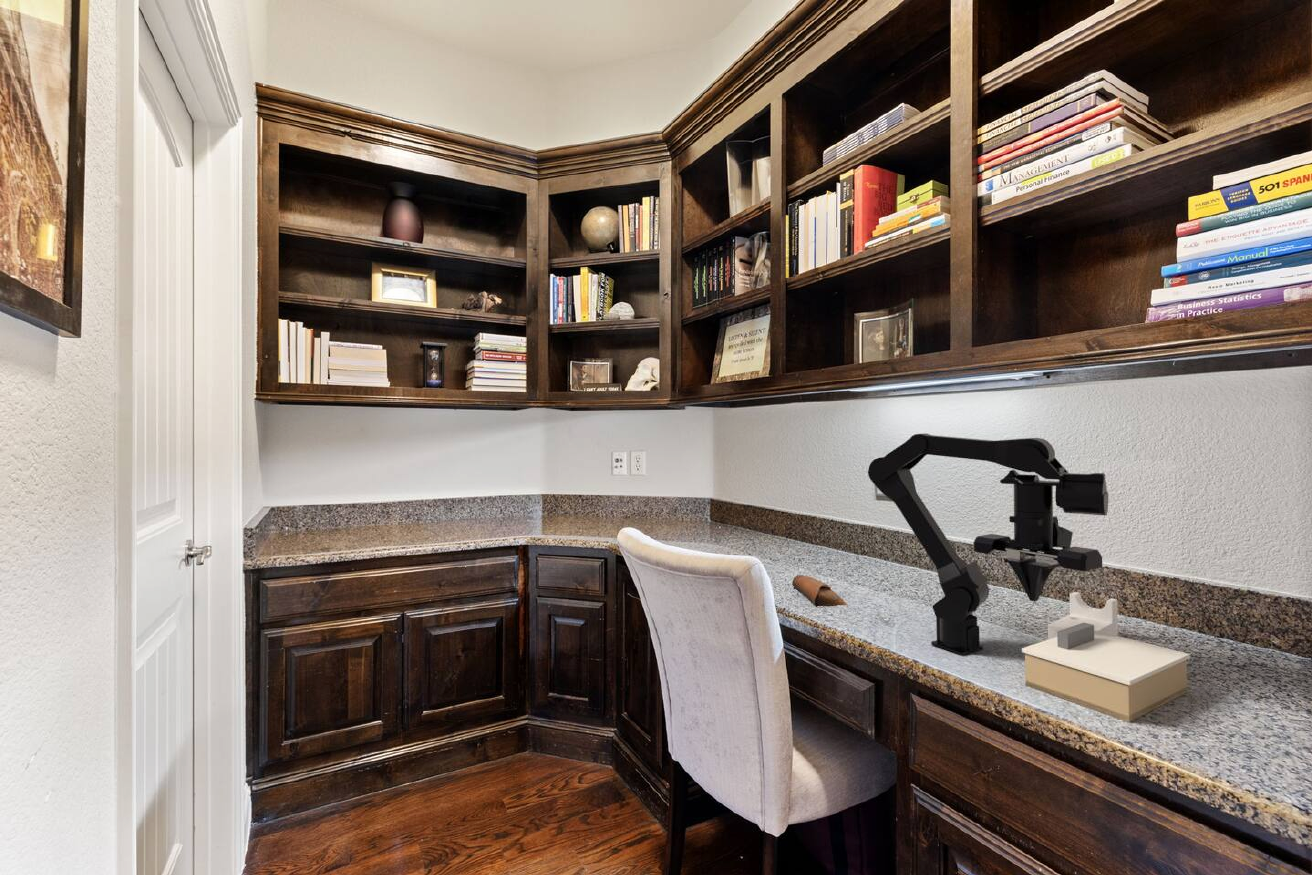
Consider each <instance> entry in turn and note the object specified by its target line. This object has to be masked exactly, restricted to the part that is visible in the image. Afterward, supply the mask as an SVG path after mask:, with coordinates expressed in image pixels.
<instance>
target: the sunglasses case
mask: <svg viewBox="0 0 1312 875" xmlns="http://www.w3.org/2000/svg"><path fill="white" fill-rule="evenodd" d="M791 585H792V587H793V586H794V587H793V588H795V589H796V590H797V591H799V592H800V593H801V594H803V595H804V597H806V598H807V599H808V600H809V601H810V602H811V603H812V604H813V605H814V606H816V607H817V606H828V607H838V606H837V605H843V606H847V604H848V603H847V602H845V600H844V599H843V598H842V597H841V596H840V595H839V594H838V593H836V592H835V591H834V590H833V589H832V587H831V586H830V585H829V584H827V583H825V582H823V581H821V580H818V579H817V578H813V577H811V576H807V575H803V574H797V575H795V576H794V577H793V580H792V584H791Z"/></svg>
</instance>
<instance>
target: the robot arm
mask: <svg viewBox="0 0 1312 875" xmlns="http://www.w3.org/2000/svg"><path fill="white" fill-rule="evenodd" d="M1055 453H1056V452H1055V449H1054V447H1053V445H1052V444H1051V443H1050V442H1049V441H1048V440H1047V439H1044V438H1040V437H1027V438H1025V437H1024V438H1012V439H1001V440H990V439H978V438H969V437H968V438H966V437H965V438H964V437H955V436H945V435H944V436H943V435H934V434H933V435H932V434H929V433H916V434H913V435H911V436H910V438H909V439H907V440H906V441H904V443H902V444H901V445H899V446H897V447H896V448H894V449H893V450H892V451H890V452H888V453H887V454H886V455H885V456H882V457H877V458H875V459H873V460H872V461H871V462H870V464H869V466H868V470H867V476H868V478H869V480H870V481H871V483H872V484H874V486H875V487H876V488H877V489H878V490H879V492H880V493H882V494H883V495H884V496H885V497H886V498H888V499H889V500H891V501H892V502H893V503H894V504H895V505H896V507H897V508H898V510H899V512H900V513H901V515H902V517H903V518H904V519H905V521H906V522H907V524H908V526H909V527H910V529H911V531H912V532H913V533H914V535H915V537H916V538H917V539H918V541H919V543H920V545H921V546H922V548H923V549H924V551H925V553H926V554H927V556H928V557H929V558H930V560H931V562H932V563H933V565H934V567H935V569H936V572H937V577H938V580H939V585H940V588H941V590H942V592H943V594H944V596H943V597H942V598H941V599H940V600H938V601H937V602H935V603H934V604H933V605H932V611H933V612H934V615H935V617H936V618H935V620H936V621H935V622H936V628H935V629H936V640H933V641H931V642H930V644H931V645H932V646H934V647H936V648H940V649H944V650H945V651H948V652H951V653H954V654H958V655H960V656H961V655H962V656H963V655H967V654H969V653H973V652H976V651H980V650H982V649H983V648H984V646H983V645H982V644H980V642H981V641H980V640H981V639H980V626H979V625H978V617H977V616H975V615H974V614H973V613H975V612H976V611H977V610H978V608H979V607H980V606H981V605H983V604H984V603H985V602H986V601H987V600H988V598H989V594H990V587H989V585H988V583H987V582H989V581H990V580H989V578H987V577H986V576H985V575H984V574H983V573H982V571H981V569H980V567H979V565H978V563H977V562H976V561H975V560H974V561H972V562H971V563H968V562H966V561H965V560H963V559H962V558H961V557H960V556H959V554H958V553H957V552H956V550H955V549H954V547H953V546H952V544H951V543H950V541H949V540H948V538H947V536H946V535H945V534H944V532H943V530H942V529H941V528H940V526H939V525H938V523H937V521H936V520H935V518H934V517H933V515H932V514H931V512H930V510H929V509H928V507H927V506H926V505H925V503H924V502H923V500H922V499H921V497H920V495H919V494H918V492H917V489H916V484H915V479H914V477H913V474H912V472H911V469H913V468H914V467H915V466H917V465H918V464H919V463H920V462H921V461H922V460H923V459H924V458H925V457H926V456H927V455H929V456H939V457H946V458H947V457H949V458H958V459H966V460H977V461H984V462H985V461H986V462H990V463H993V464H997V465H999V466H1003V467H1005V468H1009V469H1011V470H1009V471H1008V473H1007V475H1005V476H1004V477H1003V478H1001V479H1000V480H999V482H1000V484H1003V485H1005V484H1006V485H1013V515H1009V516H1008V517H1009V523H1013V539H1011V537H1010V535H1009V536H1008V535H1000V534H995V533H989V534H982V535H978V536H976V537H975V538H974V540H973V543H972V547H973V548H972V551H973V552H974V553H980V554H985V555H990V554H992V552H993V551H999V552H1001V551H1002V552H1006V558H1003V561H1004V563H1006V564H1007V563H1008V564H1009V566H1010V567H1011V569H1012V571H1013V572H1014V573H1015V575H1016V576H1017V578H1018V580H1019V582H1020V584H1021V586H1022V588H1023V589H1024V592H1025V595H1026V596H1027V597H1028V599H1029V601H1030V602H1031V601H1032V602H1038V601H1039V599H1040V597H1041V594H1042V592H1043V589H1044V587H1045V584H1046V583H1047V580H1048V579H1049V577H1050V575H1051V573H1052V572H1053V571H1054V570H1055V569H1057V568H1060V567H1061V568H1062V569H1067V570H1073V571H1077V572H1079V571H1080V572H1089V571H1091V570H1096V569H1100V568H1103V556H1102V555H1101V553H1100V551H1099V550H1098V549H1094V548H1088V547H1082V546H1081V547H1080V546H1071V545H1072V539H1073V534H1074V532H1073V531H1071V530H1069V529H1067V528H1066V527H1063V526H1059V520H1058V516H1054V497H1055V505H1056V507H1058V508H1059V509H1063V513H1066V514H1078V515H1089V516H1090V515H1091V516H1093V515H1094V516H1107V515H1108V512H1109V511H1108V509H1109V492H1108V490H1107V489H1108V488H1107V482H1106V474H1105V473H1104V472H1092V473H1071V472H1070V473H1069V471H1068V470H1067V469H1066V468H1065V466H1063V465H1062V464H1061V462H1060V461H1059V460H1058V459H1057V458H1056V454H1055ZM1017 471H1021V472H1023V473H1035V474H1021V473H1019V472H1017ZM1039 476H1040V477H1042V478H1044V479H1045V480H1040V478H1039ZM1050 480H1051V481H1050ZM1056 480H1058V481H1056ZM1054 487H1055V496H1053V495H1054V493H1053V492H1054V489H1053V488H1054ZM1058 548H1061V549H1058Z"/></svg>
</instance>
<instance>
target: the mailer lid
mask: <svg viewBox="0 0 1312 875" xmlns="http://www.w3.org/2000/svg"><path fill="white" fill-rule="evenodd" d="M1021 652H1022V653H1024V654H1030V655H1033V656H1036V657H1039V658H1043V659H1046V660H1049V661H1052V662H1056V663H1059V664H1062V665H1065V666H1068V667H1072V668H1075V669H1078V670H1081V671H1085V672H1088V673H1091V674H1094V675H1098V676H1101V677H1104V678H1107V679H1110V680H1114V681H1117V682H1120V683H1123V684H1127V685H1132V684H1134V683H1136V682H1139V681H1141V680H1143V679H1145V678H1147V677H1150V676H1152V675H1154V674H1156V673H1158V672H1160V671H1163V670H1165V669H1167V668H1169V667H1171V666H1174V665H1176V664H1178V663H1180V662H1182V661H1185V660H1189V659H1190V658H1191V654H1190V653H1187V652H1182V651H1181V650H1180V651H1179V650H1175V649H1171V648H1167V647H1163V646H1159V645H1156V644H1151V643H1147V642H1144V641H1139V640H1135V639H1132V638H1128V637H1124V636H1123V637H1122V636H1120V635H1118V636H1116V635H1112V634H1108V633H1104V632H1100V631H1096V630H1094V625H1092V624H1088V623H1081V624H1078V625H1075V626H1072V627H1069V628H1066V629H1063V630H1060V631H1057V637H1054V638H1051V639H1048V638H1047V639H1046V640H1043V641H1040V642H1038V643H1037V642H1036V643H1034V644H1031V645H1028V646H1025V647H1022V648H1021Z"/></svg>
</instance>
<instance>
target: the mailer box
mask: <svg viewBox="0 0 1312 875" xmlns="http://www.w3.org/2000/svg"><path fill="white" fill-rule="evenodd" d="M1024 656H1025V658H1024V662H1025V663H1024V665H1025V666H1024V669H1025V671H1024V672H1025V673H1024V674H1025V676H1024V677H1025V686H1026V687H1029V688H1032V689H1035V690H1036V691H1040V692H1044V693H1046V694H1048V695H1052V696H1055V697H1057V698H1059V699H1062V700H1066V701H1068V702H1070V703H1074V704H1077V705H1080V706H1082V707H1084V708H1089V709H1091V710H1094V711H1095V712H1096V711H1097V712H1099V713H1101V714H1105V715H1107V716H1110V717H1113V718H1117V719H1119V720H1121V721H1124V722H1127V723H1130V722H1132V721H1134V720H1136V719H1138V718H1140V717H1142V716H1144V715H1145V714H1147V713H1149V712H1151V711H1153V710H1155V709H1157V708H1160V707H1161V706H1163V705H1165V704H1167V703H1169V702H1171V701H1173V700H1175V699H1177V698H1179V697H1180V696H1183V695H1184V694H1187V693H1188V672H1187V671H1188V667H1187V666H1188V664H1187V660H1188V659H1187V660H1185V661H1182V662H1180V663H1178V664H1176V665H1174V666H1171V667H1169V668H1167V669H1165V670H1163V671H1160V672H1158V673H1156V674H1154V675H1152V676H1150V677H1147V678H1145V679H1143V680H1141V681H1139V682H1136V683H1134V684H1132V685H1127V684H1123V683H1120V682H1117V681H1114V680H1110V679H1107V678H1104V677H1101V676H1098V675H1094V674H1091V673H1088V672H1085V671H1081V670H1078V669H1075V668H1072V667H1068V666H1065V665H1062V664H1059V663H1056V662H1052V661H1049V660H1046V659H1043V658H1039V657H1036V656H1033V655H1030V654H1026V653H1024Z"/></svg>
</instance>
